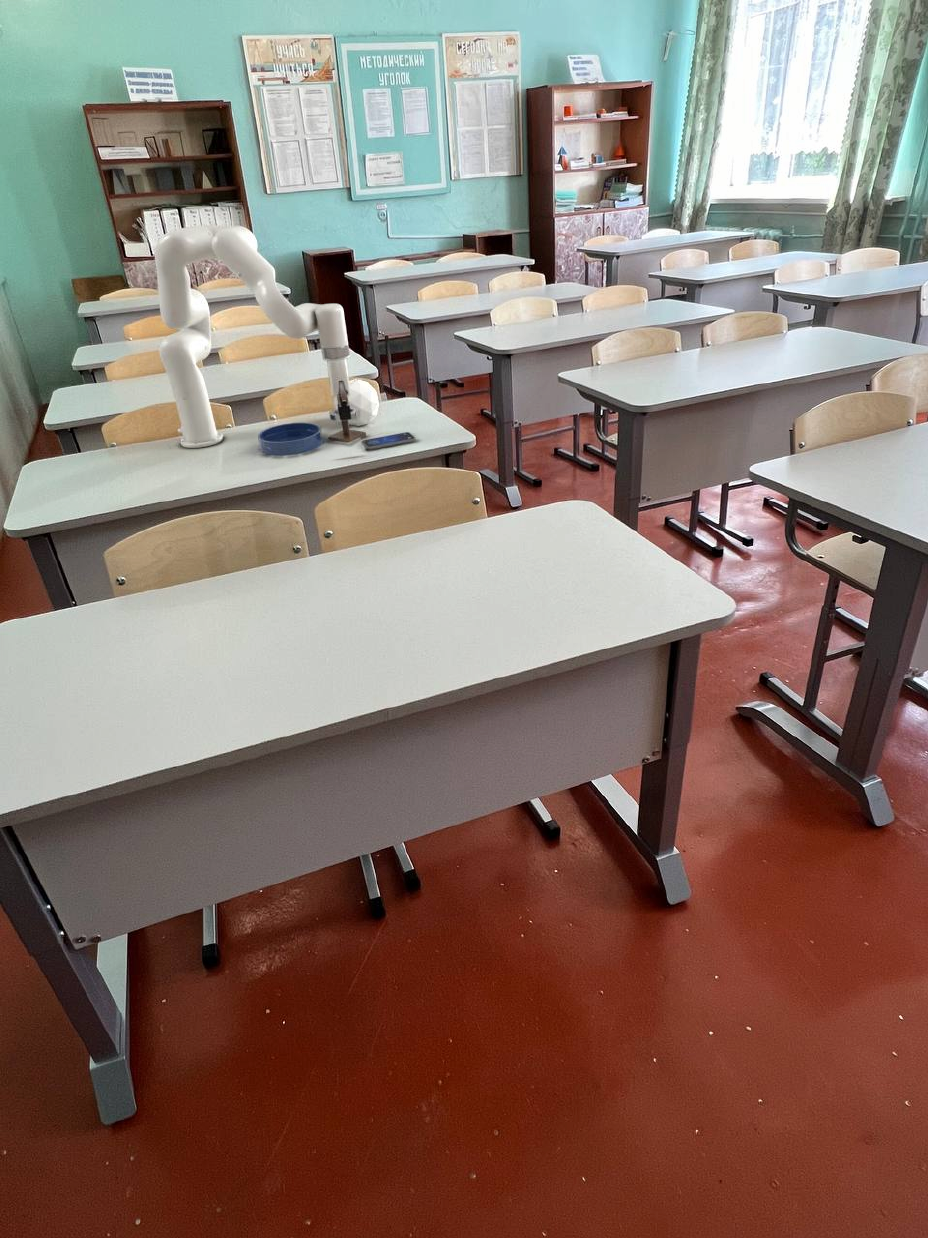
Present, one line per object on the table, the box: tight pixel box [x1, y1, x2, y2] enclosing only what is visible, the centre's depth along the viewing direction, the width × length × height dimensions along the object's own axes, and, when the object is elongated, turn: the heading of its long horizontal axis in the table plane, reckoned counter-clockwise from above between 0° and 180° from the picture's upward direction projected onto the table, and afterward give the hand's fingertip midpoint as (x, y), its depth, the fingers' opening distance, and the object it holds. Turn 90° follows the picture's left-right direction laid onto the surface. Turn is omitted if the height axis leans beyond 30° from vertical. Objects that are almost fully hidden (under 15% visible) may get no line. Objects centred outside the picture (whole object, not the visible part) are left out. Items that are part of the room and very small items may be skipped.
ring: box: [328, 407, 359, 422], centre depth 221 cm, size 8×8×2 cm
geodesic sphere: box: [332, 377, 380, 428], centre depth 234 cm, size 15×14×14 cm
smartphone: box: [360, 431, 417, 451], centre depth 219 cm, size 7×1×15 cm
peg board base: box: [327, 420, 367, 443], centre depth 223 cm, size 8×8×8 cm
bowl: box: [257, 422, 324, 456], centre depth 221 cm, size 18×18×4 cm
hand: (345, 417), depth 218 cm, fingers closed on ring, 2 cm apart
